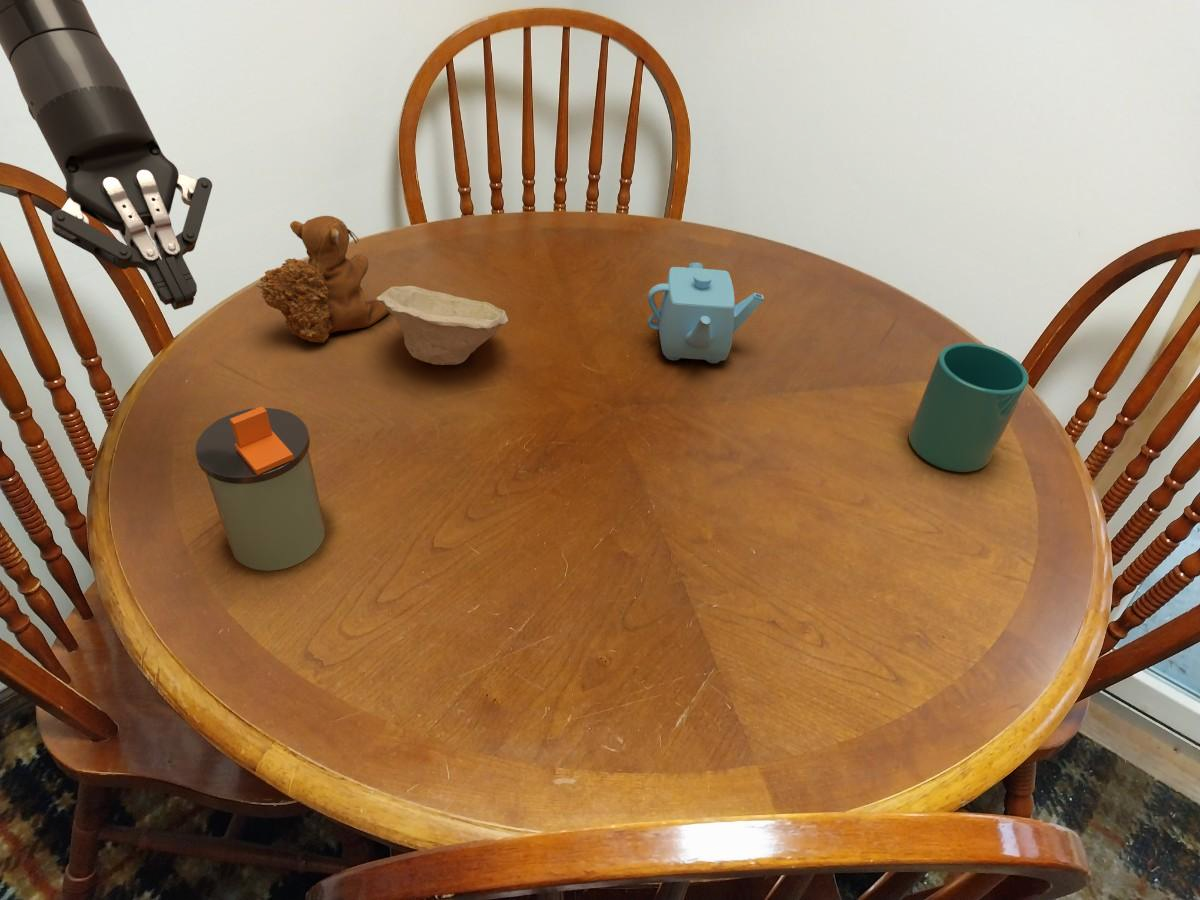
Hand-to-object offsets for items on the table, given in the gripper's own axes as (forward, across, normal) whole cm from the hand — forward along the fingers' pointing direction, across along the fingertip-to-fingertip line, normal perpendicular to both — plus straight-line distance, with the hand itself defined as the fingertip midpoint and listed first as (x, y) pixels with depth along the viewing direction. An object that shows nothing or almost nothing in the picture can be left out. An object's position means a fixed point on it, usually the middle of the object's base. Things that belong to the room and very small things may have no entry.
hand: (184, 304), depth 70 cm
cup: (+43, +65, -14) cm, 79 cm away
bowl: (+10, +29, +20) cm, 36 cm away
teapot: (+22, +55, +7) cm, 60 cm away
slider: (+14, 0, -1) cm, 14 cm away
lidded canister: (+21, 0, +9) cm, 22 cm away
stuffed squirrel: (0, +21, +30) cm, 36 cm away
